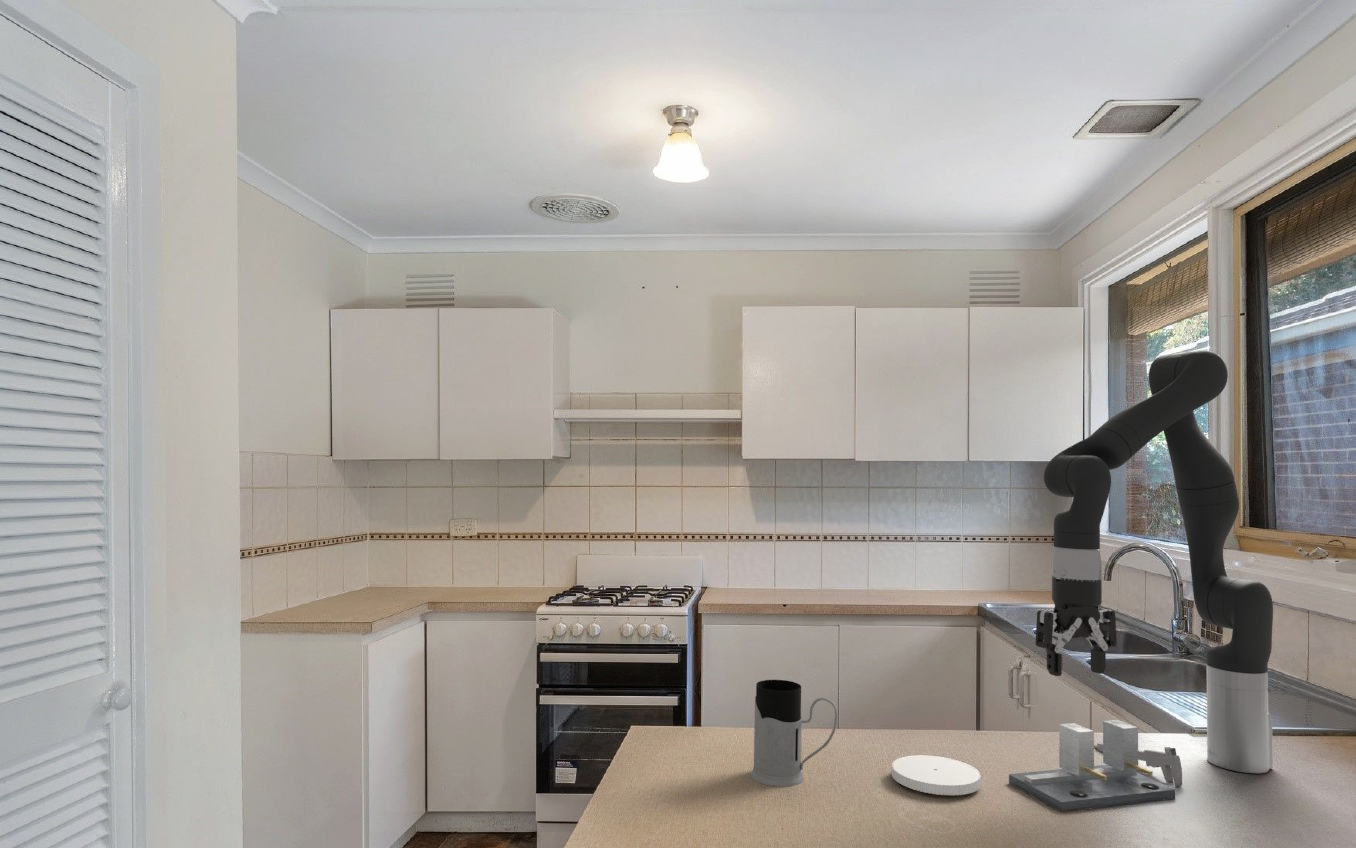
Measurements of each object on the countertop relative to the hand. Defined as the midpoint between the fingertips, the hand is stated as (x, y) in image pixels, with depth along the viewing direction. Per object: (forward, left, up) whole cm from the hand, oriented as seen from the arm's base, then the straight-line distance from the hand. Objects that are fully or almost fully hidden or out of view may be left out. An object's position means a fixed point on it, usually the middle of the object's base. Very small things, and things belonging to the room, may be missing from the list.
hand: (1076, 673), depth 139 cm
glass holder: (+44, -14, -19) cm, 50 cm away
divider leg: (0, +2, -16) cm, 16 cm away
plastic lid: (+22, -7, -19) cm, 30 cm away
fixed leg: (-9, +2, -16) cm, 18 cm away
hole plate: (-1, +2, -18) cm, 19 cm away
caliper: (-18, -6, -19) cm, 27 cm away
